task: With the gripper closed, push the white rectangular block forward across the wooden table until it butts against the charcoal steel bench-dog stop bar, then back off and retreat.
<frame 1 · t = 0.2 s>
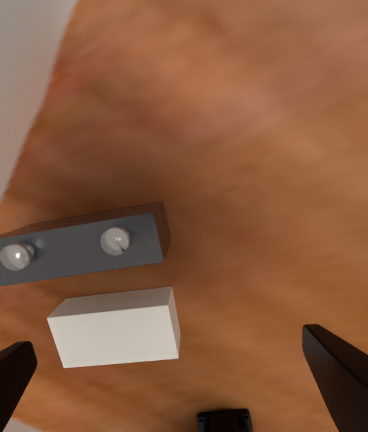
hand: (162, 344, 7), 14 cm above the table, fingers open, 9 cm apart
stop bar: (99, 232, 21), on the table
white rectangular block: (124, 314, 24), on the table
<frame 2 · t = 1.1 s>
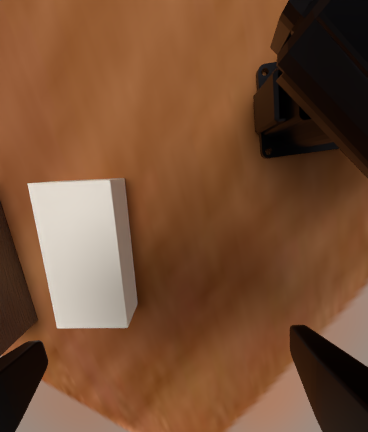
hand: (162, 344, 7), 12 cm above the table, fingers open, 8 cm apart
white rectangular block: (100, 244, 20), on the table
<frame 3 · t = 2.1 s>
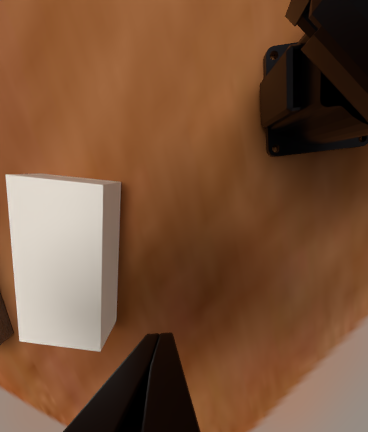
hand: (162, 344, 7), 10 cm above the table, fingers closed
white rectangular block: (84, 250, 17), on the table
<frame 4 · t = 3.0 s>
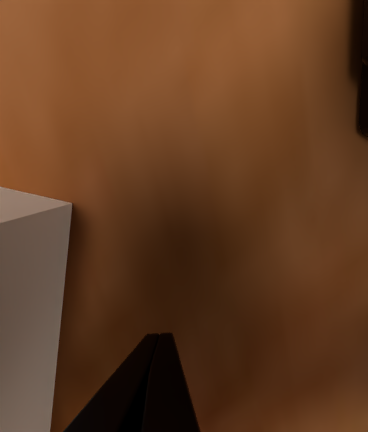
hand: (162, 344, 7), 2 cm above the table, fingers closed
white rectangular block: (0, 314, 10), on the table
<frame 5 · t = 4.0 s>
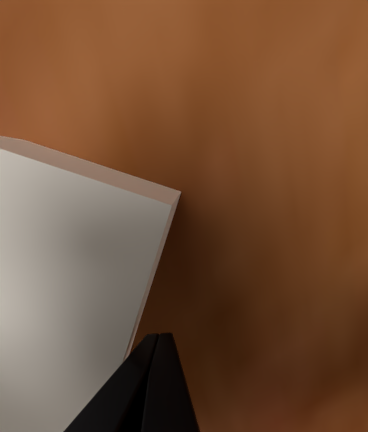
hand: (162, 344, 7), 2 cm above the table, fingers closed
white rectangular block: (80, 293, 10), on the table
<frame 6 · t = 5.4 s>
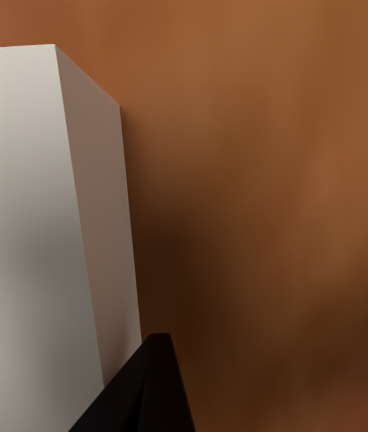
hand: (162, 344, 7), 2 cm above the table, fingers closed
white rectangular block: (61, 272, 8), on the table, touching gripper, stop bar
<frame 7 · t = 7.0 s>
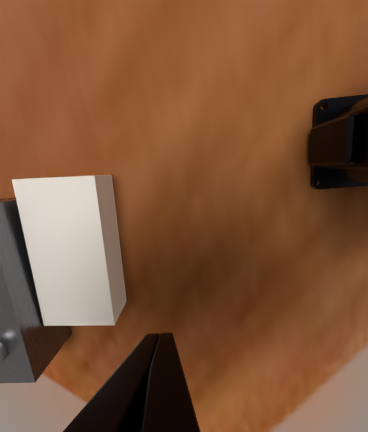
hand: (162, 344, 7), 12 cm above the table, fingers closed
stop bar: (36, 271, 20), on the table
white rectangular block: (89, 242, 19), on the table
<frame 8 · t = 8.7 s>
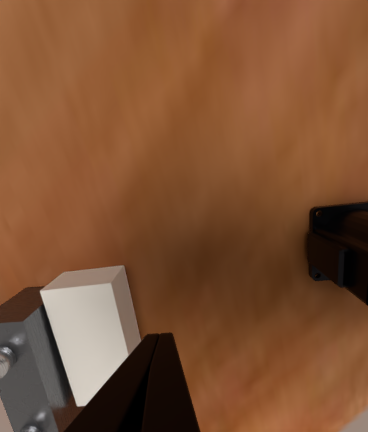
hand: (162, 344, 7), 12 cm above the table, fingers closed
stop bar: (61, 346, 22), on the table
white rectangular block: (108, 320, 21), on the table
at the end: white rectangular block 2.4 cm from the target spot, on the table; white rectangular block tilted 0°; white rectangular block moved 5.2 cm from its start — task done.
